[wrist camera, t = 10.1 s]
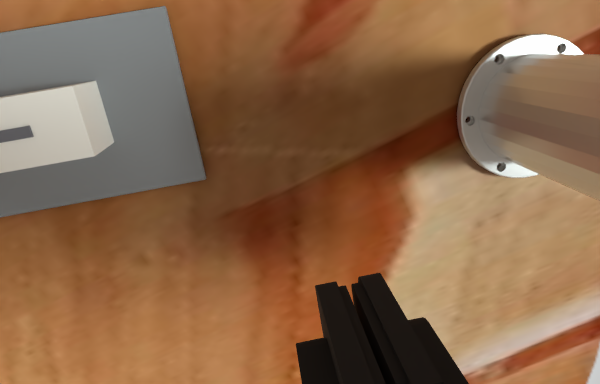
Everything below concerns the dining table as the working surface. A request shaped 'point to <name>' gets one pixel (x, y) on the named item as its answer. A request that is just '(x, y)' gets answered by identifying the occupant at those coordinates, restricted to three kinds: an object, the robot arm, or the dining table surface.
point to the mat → (105, 107)
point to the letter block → (52, 126)
